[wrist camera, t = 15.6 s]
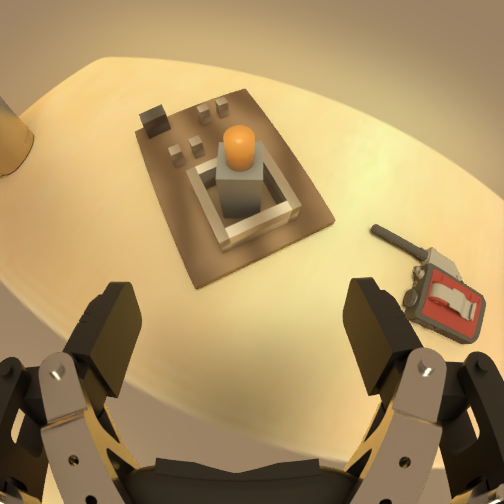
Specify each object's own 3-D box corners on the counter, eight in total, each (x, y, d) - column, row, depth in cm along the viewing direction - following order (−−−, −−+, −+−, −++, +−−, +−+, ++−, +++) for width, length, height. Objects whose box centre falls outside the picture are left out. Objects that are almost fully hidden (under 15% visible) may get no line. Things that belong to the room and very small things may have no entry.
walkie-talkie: (480, 287, 28) (370, 222, 30) (500, 282, 24) (386, 208, 26) (465, 348, 26) (345, 292, 28) (487, 349, 22) (361, 286, 24)
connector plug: (223, 218, 28) (210, 157, 18) (225, 187, 29) (215, 118, 18) (259, 218, 28) (265, 158, 18) (259, 187, 29) (265, 118, 18)
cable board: (196, 289, 27) (187, 282, 23) (137, 137, 32) (126, 115, 28) (332, 224, 29) (346, 206, 25) (245, 94, 34) (245, 70, 30)
